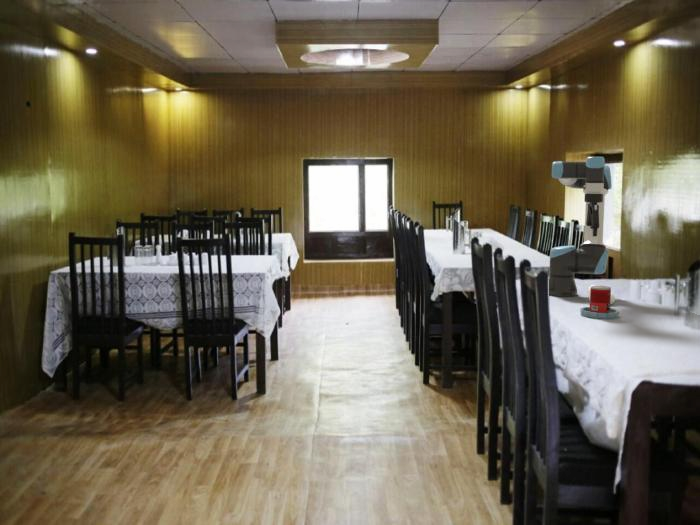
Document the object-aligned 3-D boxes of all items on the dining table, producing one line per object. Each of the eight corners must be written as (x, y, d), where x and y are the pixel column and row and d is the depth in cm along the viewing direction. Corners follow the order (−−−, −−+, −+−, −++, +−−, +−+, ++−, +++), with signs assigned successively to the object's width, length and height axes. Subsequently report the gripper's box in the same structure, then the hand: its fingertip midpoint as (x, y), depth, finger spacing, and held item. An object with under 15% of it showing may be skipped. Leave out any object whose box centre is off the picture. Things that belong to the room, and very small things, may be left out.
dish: (578, 311, 328) (578, 306, 328) (615, 312, 325) (615, 307, 325) (583, 318, 313) (583, 312, 313) (621, 319, 311) (621, 314, 310)
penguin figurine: (588, 283, 349) (615, 286, 347) (585, 301, 350) (612, 305, 348) (590, 285, 342) (618, 288, 341) (587, 304, 344) (615, 307, 342)
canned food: (611, 315, 315) (612, 288, 314) (590, 314, 316) (592, 287, 315) (608, 311, 322) (609, 285, 321) (588, 311, 324) (589, 285, 323)
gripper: (580, 192, 343) (578, 239, 346) (589, 193, 318) (586, 245, 321) (598, 192, 342) (596, 239, 344) (607, 194, 317) (605, 245, 320)
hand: (591, 242), depth 333 cm, fingers open, 13 cm apart
